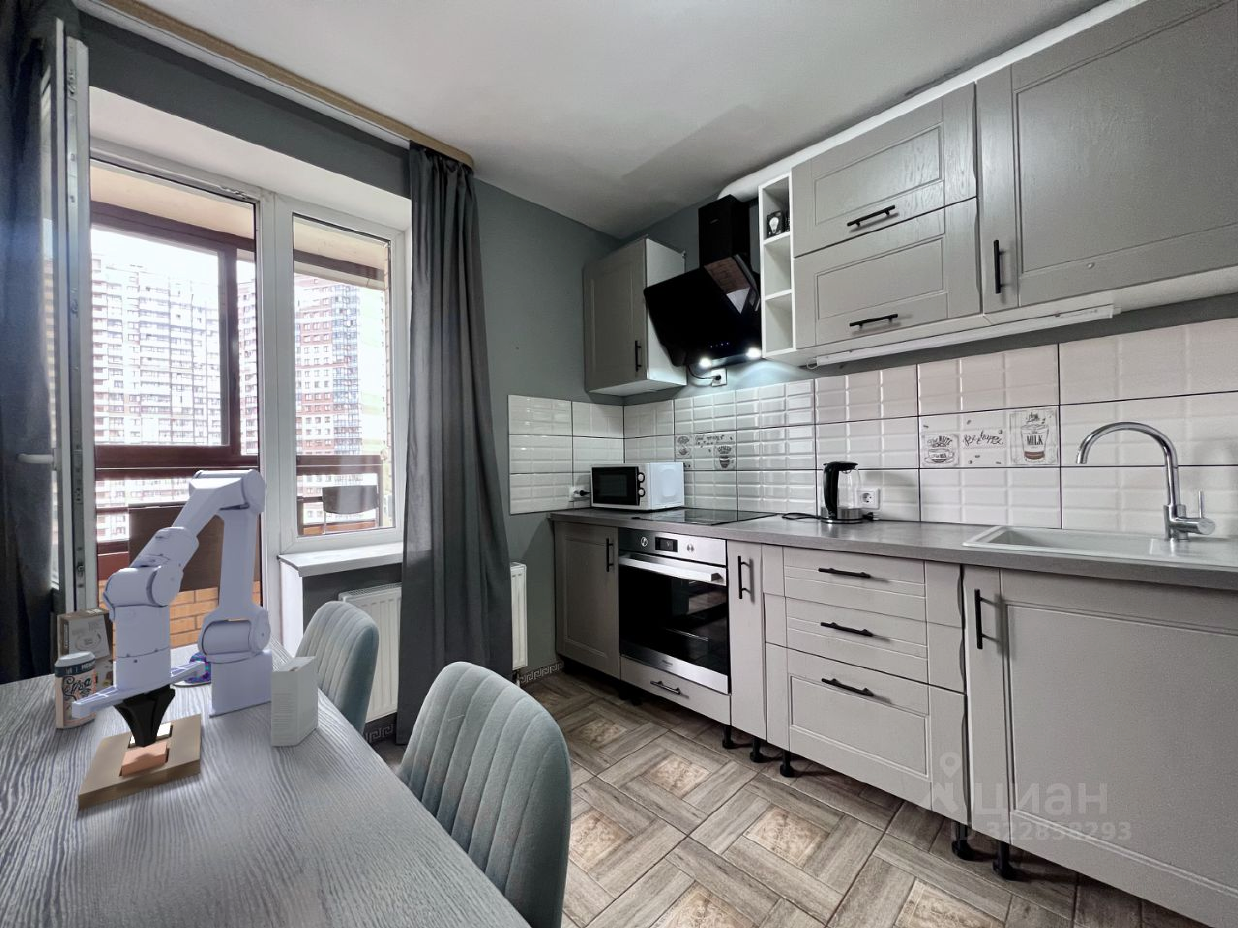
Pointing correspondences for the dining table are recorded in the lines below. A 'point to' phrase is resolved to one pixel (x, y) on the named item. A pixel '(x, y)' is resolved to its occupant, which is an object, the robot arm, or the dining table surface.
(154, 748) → the terracotta button
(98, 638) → the coffee box
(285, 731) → the skincare box
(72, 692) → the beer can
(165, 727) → the metal button
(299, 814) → the dining table surface
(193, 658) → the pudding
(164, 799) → the dining table surface
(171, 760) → the button board
